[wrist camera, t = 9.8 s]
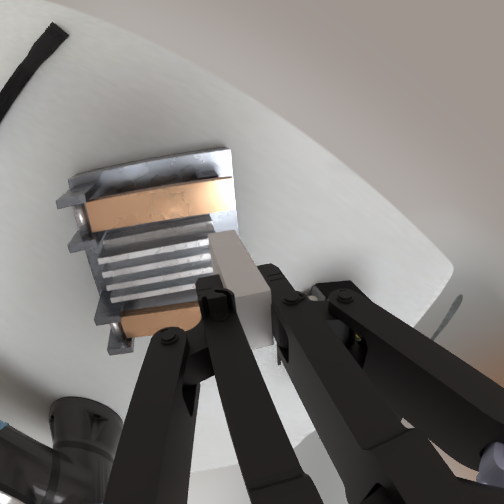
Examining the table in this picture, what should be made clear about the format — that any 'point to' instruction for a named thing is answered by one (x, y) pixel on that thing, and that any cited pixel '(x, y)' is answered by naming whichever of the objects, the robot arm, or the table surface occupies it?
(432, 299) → the table surface
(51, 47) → the long black strip
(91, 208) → the lever
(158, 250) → the heatsink base
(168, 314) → the lever
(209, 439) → the table surface
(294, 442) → the table surface
